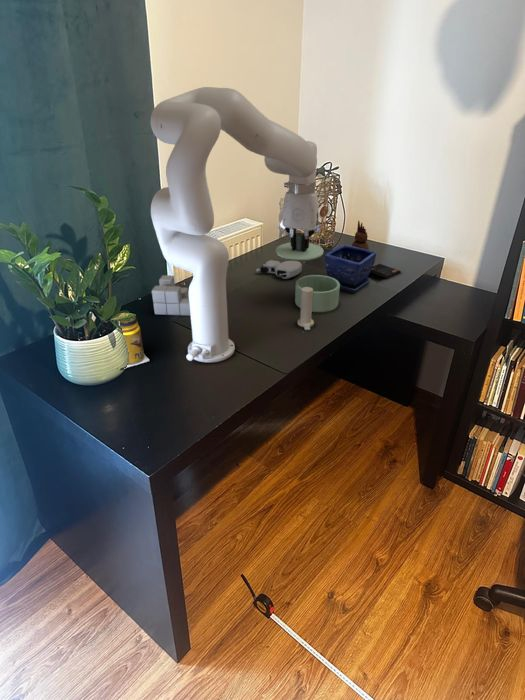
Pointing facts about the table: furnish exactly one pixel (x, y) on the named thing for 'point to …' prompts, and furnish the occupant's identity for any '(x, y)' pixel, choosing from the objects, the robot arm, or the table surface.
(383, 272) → the calculator
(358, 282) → the flower pot
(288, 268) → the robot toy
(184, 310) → the puzzle cube
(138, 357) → the condiment
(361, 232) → the wooden figurine
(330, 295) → the bowl
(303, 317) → the beige flanged cylinder
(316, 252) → the lid
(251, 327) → the table surface
